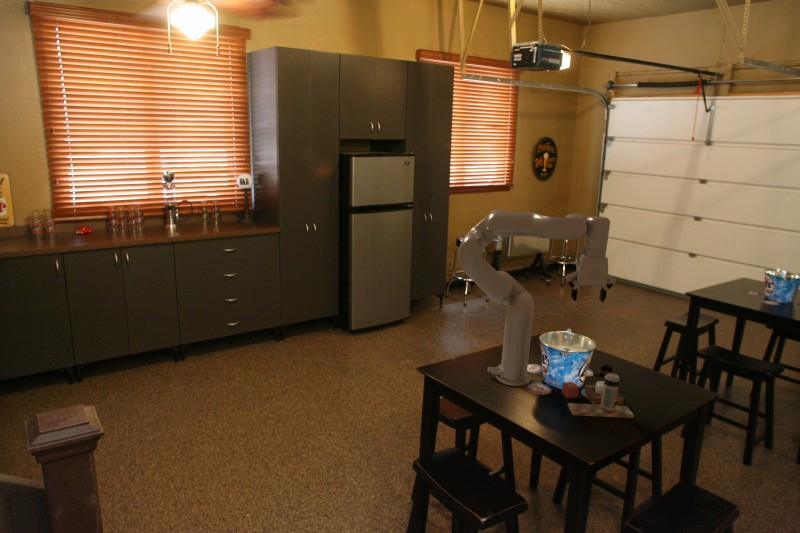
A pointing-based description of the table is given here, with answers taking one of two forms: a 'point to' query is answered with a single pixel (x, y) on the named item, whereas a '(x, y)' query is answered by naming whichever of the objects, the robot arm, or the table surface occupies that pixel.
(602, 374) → the black irregular block
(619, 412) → the board
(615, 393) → the spice shaker bottle
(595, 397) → the square wooden tray
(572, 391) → the die
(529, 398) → the table surface
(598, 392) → the white squat cylinder
